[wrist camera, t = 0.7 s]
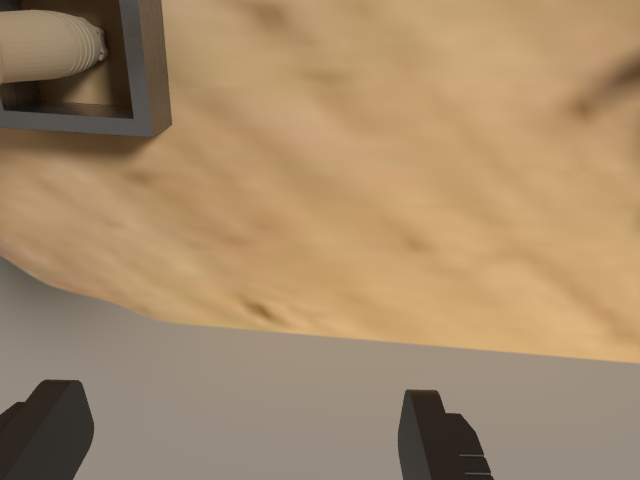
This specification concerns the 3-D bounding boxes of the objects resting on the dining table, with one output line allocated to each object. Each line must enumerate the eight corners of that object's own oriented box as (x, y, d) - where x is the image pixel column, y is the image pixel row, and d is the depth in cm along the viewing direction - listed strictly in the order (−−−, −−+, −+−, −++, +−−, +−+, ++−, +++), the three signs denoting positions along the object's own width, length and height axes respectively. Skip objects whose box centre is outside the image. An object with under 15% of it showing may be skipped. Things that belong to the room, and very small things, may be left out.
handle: (44, 62, 33) (-149, 87, 19) (70, -20, 30) (-127, -58, 17) (104, 98, 34) (-37, 144, 20) (135, 21, 31) (-2, 17, 18)
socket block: (-10, -55, 29) (-63, -68, 25) (157, -42, 30) (132, -53, 26) (29, 115, 34) (-9, 126, 30) (171, 124, 35) (152, 137, 31)
